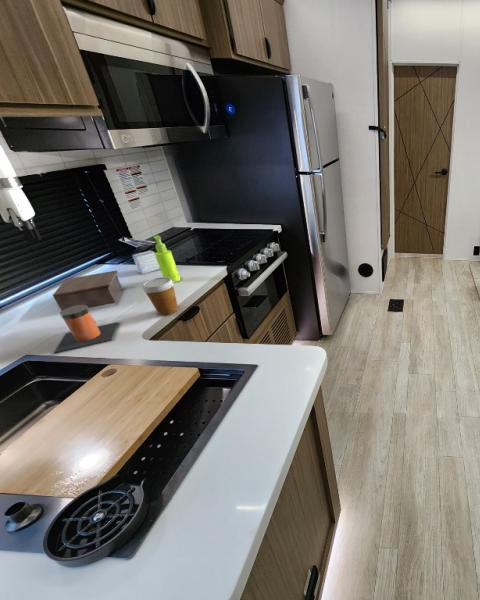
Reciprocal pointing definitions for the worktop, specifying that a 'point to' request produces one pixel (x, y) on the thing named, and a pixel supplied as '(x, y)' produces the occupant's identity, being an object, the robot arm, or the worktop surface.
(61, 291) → the chest lid
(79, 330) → the jar
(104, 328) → the mat
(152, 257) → the medicine box
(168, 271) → the soap dispenser
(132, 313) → the worktop surface
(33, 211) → the robot arm
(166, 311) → the disposable coffee cup
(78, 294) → the chest
